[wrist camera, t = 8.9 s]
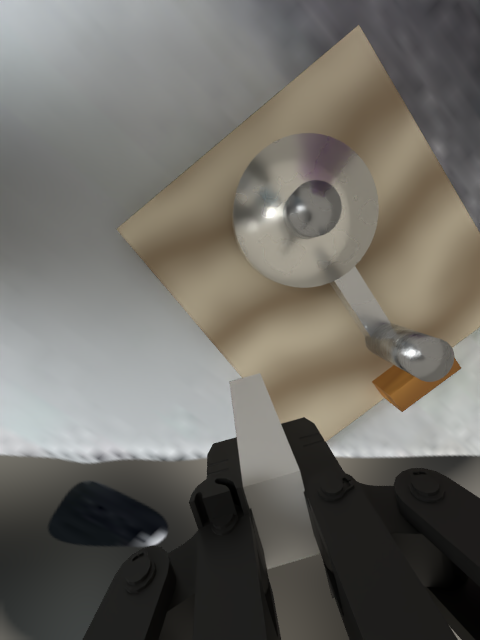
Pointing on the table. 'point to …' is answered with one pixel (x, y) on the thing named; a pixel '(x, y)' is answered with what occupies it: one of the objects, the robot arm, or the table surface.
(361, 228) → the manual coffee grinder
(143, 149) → the table surface
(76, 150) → the table surface
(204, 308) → the beige flat square
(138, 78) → the table surface
